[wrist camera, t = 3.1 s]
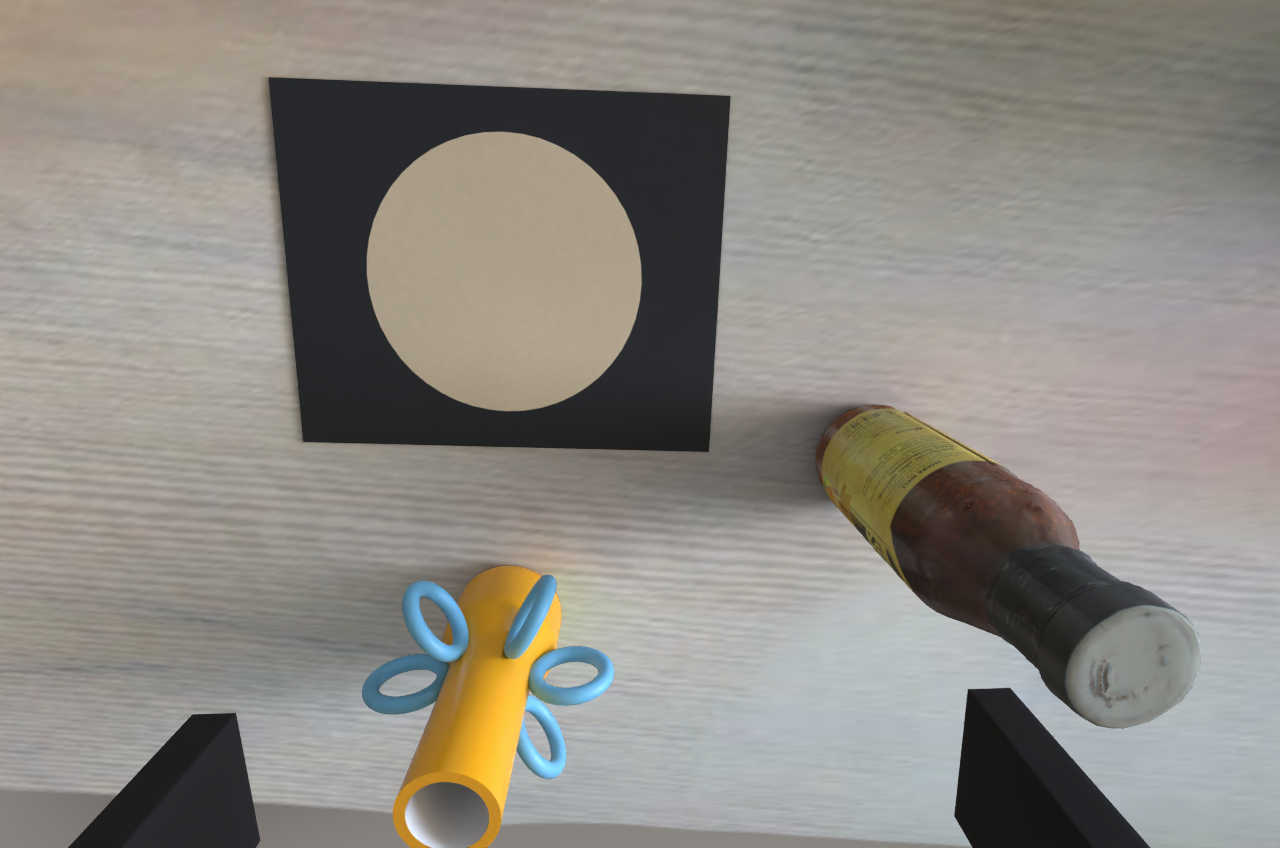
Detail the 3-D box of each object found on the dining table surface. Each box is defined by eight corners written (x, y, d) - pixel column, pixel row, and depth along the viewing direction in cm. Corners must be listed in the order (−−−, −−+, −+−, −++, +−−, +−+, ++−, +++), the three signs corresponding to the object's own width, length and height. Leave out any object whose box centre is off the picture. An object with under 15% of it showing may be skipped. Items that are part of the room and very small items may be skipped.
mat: (304, 441, 37) (303, 441, 37) (269, 77, 33) (268, 77, 33) (708, 451, 38) (708, 451, 38) (730, 96, 33) (730, 95, 33)
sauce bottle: (794, 489, 39) (965, 732, 19) (836, 385, 37) (1065, 537, 18) (901, 521, 39) (1167, 788, 20) (946, 420, 38) (1280, 603, 19)
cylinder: (417, 693, 41) (305, 935, 27) (393, 532, 39) (256, 706, 24) (619, 682, 42) (618, 918, 27) (610, 522, 39) (603, 688, 24)
